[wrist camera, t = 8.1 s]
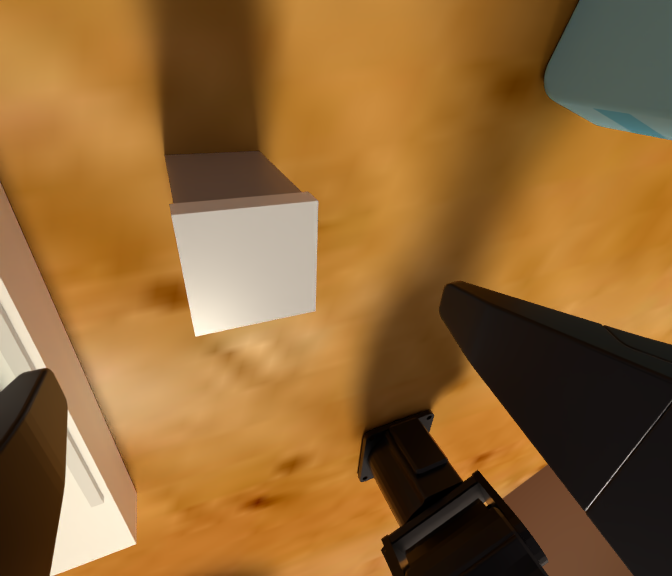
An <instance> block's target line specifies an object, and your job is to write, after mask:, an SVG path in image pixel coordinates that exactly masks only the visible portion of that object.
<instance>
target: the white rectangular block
mask: <svg viewBox="0 0 672 576" xmlns="http://www.w3.org/2000/svg"><path fill="white" fill-rule="evenodd" d="M165 160H166V166H167V171H168V176H169V182H170V187H171V192H172V198H173V203H174V204H170V210H171V216H172V221H173V226H174V231H175V236H176V241H177V246H178V251H179V256H180V261H181V266H182V271H183V276H184V281H185V286H186V291H187V296H188V301H189V306H190V311H191V316H192V321H193V326H194V331H195V336H200V335H205V334H209V333H214V332H219V331H224V330H228V329H233V328H238V327H243V326H247V325H252V324H257V323H261V322H266V321H271V320H276V319H280V318H285V317H290V316H295V315H299V314H304V313H309V312H313V311H315V310H316V269H317V229H318V200H317V199H316V198H315V197H314V196H312V195H311V194H310V193H309V192H301V191H300V190H299V189H298V188H297V187H296V186H295V185H294V184H293V183H292V182H291V181H290V180H289V179H288V178H287V177H286V176H285V175H284V174H282V173H281V172H280V171H279V170H278V169H277V168H276V167H275V166H274V165H273V164H272V163H271V162H270V161H269V160H268V159H267V158H266V157H265V156H264V155H263V154H262V153H261V152H260V151H246V152H223V153H200V154H177V155H165Z"/></svg>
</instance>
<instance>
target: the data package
mask: <svg viewBox="0 0 672 576" xmlns="http://www.w3.org/2000/svg"><path fill="white" fill-rule="evenodd" d="M544 88H545V91H546V93H547V95H548V96H549V98H550V99H552V100H553V101H555V102H557V103H558V104H560V105H562V106H564V107H565V108H567V109H569V110H571V111H572V112H574V113H576V114H578V115H579V116H581V117H583V118H585V119H586V120H588V121H590V122H592V123H593V124H595V125H597V126H601V127H606V128H611V129H617V130H622V131H627V132H632V133H637V134H643V135H648V136H653V137H658V138H663V139H669V140H672V0H579V2H578V4H577V6H576V8H575V10H574V12H573V14H572V16H571V18H570V21H569V23H568V25H567V27H566V29H565V31H564V33H563V35H562V37H561V39H560V41H559V43H558V45H557V47H556V49H555V51H554V53H553V55H552V57H551V59H550V61H549V63H548V65H547V68H546V71H545V75H544Z"/></svg>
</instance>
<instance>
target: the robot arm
mask: <svg viewBox="0 0 672 576" xmlns="http://www.w3.org/2000/svg"><path fill="white" fill-rule="evenodd" d="M439 313H440V316H441V318H442V320H443V321H444V323H445V324H446V326H447V328H448V329H449V331H450V332H451V334H452V336H453V337H454V339H455V340H456V342H457V344H458V345H459V347H460V348H461V350H462V352H463V353H464V355H465V356H466V358H467V359H468V361H469V362H470V363H471V365H472V366H473V367H474V369H475V370H476V371H477V373H478V374H479V375H480V377H481V378H482V379H483V380H484V382H485V383H486V384H487V386H488V387H489V388H490V390H491V391H492V392H493V393H494V395H495V396H496V397H497V399H498V400H499V401H500V402H501V404H502V405H503V406H504V408H505V409H506V410H507V412H508V413H509V414H510V415H511V417H512V418H513V419H514V421H515V422H516V423H517V425H518V426H519V427H520V428H521V430H522V431H523V432H524V434H525V435H526V436H527V437H528V439H529V440H530V441H531V443H532V444H533V445H534V447H535V448H536V449H537V450H538V452H539V453H540V454H541V456H542V457H543V458H544V460H545V461H546V462H547V463H548V465H549V466H550V467H551V468H552V470H553V471H554V472H555V474H556V475H557V476H558V478H559V479H560V480H561V482H562V483H563V484H564V485H565V487H566V488H567V489H568V491H569V492H570V493H571V495H572V496H573V497H574V498H575V500H576V501H577V502H578V504H579V505H580V506H581V508H582V509H583V510H584V511H586V514H587V516H588V517H589V518H590V519H591V521H592V522H593V524H594V525H595V526H596V527H597V528H598V530H599V531H600V532H601V534H602V535H603V537H604V538H605V539H606V540H607V542H608V543H609V544H610V546H611V547H612V548H613V549H614V551H615V552H616V553H617V554H618V556H619V557H620V558H621V560H622V561H623V562H624V564H625V565H626V566H627V568H628V569H629V570H630V571H631V573H632V574H633V575H634V576H672V345H671V344H667V343H664V342H660V341H656V340H653V339H649V338H645V337H642V336H639V335H635V334H632V333H629V332H625V331H622V330H619V329H615V328H612V327H609V326H606V325H604V326H602V325H601V324H599V323H596V322H592V321H589V320H586V319H583V318H580V317H576V316H573V315H570V314H567V313H563V312H560V311H557V310H554V309H550V308H547V307H544V306H541V305H537V304H534V303H531V302H528V301H524V300H521V299H518V298H515V297H511V296H508V295H505V294H502V293H498V292H495V291H492V290H489V289H485V288H482V287H479V286H476V285H472V284H469V283H466V282H463V281H456V282H451V283H448V284H446V286H445V287H444V290H443V294H442V298H441V302H440V306H439ZM433 418H434V414H433V413H432V411H431V410H427V411H424V412H421V413H418V414H416V415H413V416H410V417H407V418H404V419H402V420H399V421H396V422H393V423H390V424H387V425H385V426H382V427H379V428H376V429H373V430H371V431H368V432H367V433H366V434H365V435H364V438H363V445H362V452H361V459H360V466H359V473H358V478H359V480H360V482H364V481H367V480H369V479H372V478H374V479H375V480H376V482H377V484H378V486H379V488H380V490H381V492H382V494H383V496H384V497H385V499H386V501H387V503H388V505H389V507H390V509H391V511H392V513H393V515H394V516H395V518H396V520H397V522H398V524H399V526H400V528H398V529H397V530H395V531H394V532H393V533H391V534H390V535H386V536H385V537H383V538H382V539H381V540H382V542H383V545H384V546H383V548H382V550H381V551H382V553H383V555H384V557H385V560H386V562H387V564H388V566H389V568H390V571H391V573H392V576H548V575H547V573H546V572H545V571H544V569H543V568H542V566H544V565H545V564H546V563H548V559H547V557H546V556H545V554H544V552H543V551H542V549H541V548H540V546H539V545H538V543H537V542H536V541H535V539H534V538H533V536H532V535H531V534H530V532H529V531H528V530H527V528H526V527H525V526H524V525H523V523H522V522H521V521H520V520H519V518H518V517H517V516H516V515H515V513H514V512H513V511H512V510H511V509H510V508H509V506H508V505H507V504H506V503H505V502H504V500H503V499H502V498H501V497H500V496H499V495H498V493H497V492H496V491H495V490H494V489H493V487H492V486H491V485H490V484H489V483H488V482H487V480H486V479H485V478H484V477H483V476H482V474H481V473H480V472H479V471H478V470H477V471H475V472H474V473H473V474H472V476H471V477H469V478H468V479H467V480H465V481H464V482H463V480H462V479H461V478H460V476H459V475H458V474H457V472H456V471H455V469H454V468H453V467H452V465H451V464H450V463H449V461H448V459H447V457H446V456H445V454H444V453H443V451H442V450H441V449H440V447H439V446H438V445H437V443H436V442H435V440H434V439H433V438H432V436H431V435H430V434H429V431H430V428H431V425H432V421H433ZM67 420H68V405H67V400H66V397H65V395H64V393H63V391H62V389H61V387H60V385H59V383H58V381H57V379H56V377H55V375H54V373H53V372H52V371H51V370H50V369H48V368H42V369H37V370H32V371H27V372H24V373H21V374H20V375H18V376H17V377H16V378H15V379H14V380H13V381H12V382H11V383H10V384H8V385H7V386H6V387H5V388H4V389H3V390H2V391H1V392H0V576H50V572H51V566H52V560H53V555H54V549H55V543H56V537H57V531H58V525H59V519H60V513H61V508H62V502H63V495H64V488H65V475H66V449H67ZM485 501H486V503H487V504H488V506H485V505H484V502H485Z"/></svg>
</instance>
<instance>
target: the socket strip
mask: <svg viewBox="0 0 672 576" xmlns="http://www.w3.org/2000/svg"><path fill="white" fill-rule="evenodd" d="M42 368H48V369H50V370H51V371H52V372H53V373H54V375H55V377H56V379H57V381H58V383H59V385H60V387H61V389H62V391H63V393H64V395H65V397H66V400H67V405H68V420H67V449H66V475H65V488H64V495H63V502H62V508H61V513H60V519H59V525H58V531H57V537H56V543H55V549H54V555H53V560H52V566H51V572H50V576H54V575H56V574H59V573H62V572H64V571H67V570H69V569H72V568H75V567H77V566H80V565H82V564H85V563H88V562H90V561H93V560H96V559H98V558H101V557H103V556H106V555H109V554H111V553H114V552H117V551H119V550H122V549H124V548H127V547H130V546H132V545H135V544H136V523H137V492H136V490H135V488H134V486H133V483H132V481H131V479H130V476H129V474H128V472H127V470H126V467H125V465H124V463H123V461H122V458H121V456H120V454H119V451H118V449H117V447H116V445H115V442H114V440H113V438H112V435H111V433H110V431H109V429H108V426H107V424H106V422H105V420H104V417H103V415H102V413H101V410H100V408H99V406H98V404H97V401H96V399H95V397H94V394H93V392H92V390H91V388H90V385H89V383H88V381H87V379H86V376H85V374H84V372H83V369H82V367H81V365H80V363H79V360H78V358H77V356H76V353H75V351H74V349H73V347H72V344H71V342H70V340H69V338H68V335H67V333H66V331H65V328H64V326H63V324H62V322H61V319H60V317H59V315H58V312H57V310H56V308H55V306H54V303H53V301H52V299H51V296H50V294H49V292H48V290H47V287H46V285H45V283H44V281H43V278H42V276H41V274H40V271H39V269H38V267H37V265H36V262H35V260H34V258H33V255H32V253H31V251H30V249H29V246H28V244H27V242H26V240H25V237H24V235H23V233H22V230H21V228H20V226H19V224H18V221H17V219H16V217H15V214H14V212H13V210H12V208H11V205H10V203H9V201H8V199H7V196H6V194H5V192H4V189H3V187H2V185H1V183H0V392H1V391H2V390H3V389H4V388H5V387H6V386H7V385H8V384H10V383H11V382H12V381H13V380H14V379H15V378H16V377H17V376H18V375H20V374H21V373H24V372H27V371H32V370H37V369H42Z"/></svg>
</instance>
